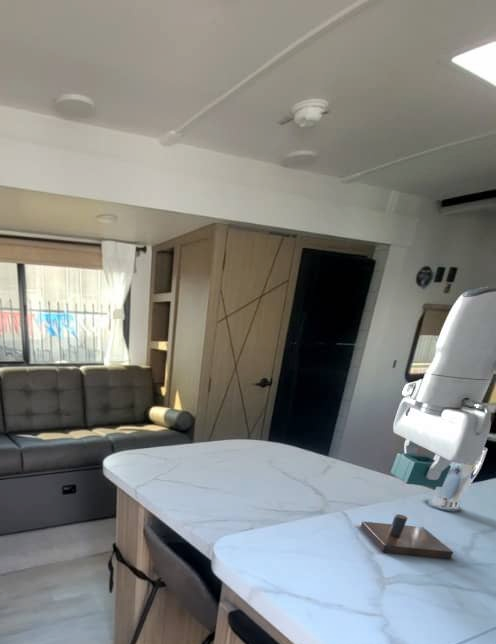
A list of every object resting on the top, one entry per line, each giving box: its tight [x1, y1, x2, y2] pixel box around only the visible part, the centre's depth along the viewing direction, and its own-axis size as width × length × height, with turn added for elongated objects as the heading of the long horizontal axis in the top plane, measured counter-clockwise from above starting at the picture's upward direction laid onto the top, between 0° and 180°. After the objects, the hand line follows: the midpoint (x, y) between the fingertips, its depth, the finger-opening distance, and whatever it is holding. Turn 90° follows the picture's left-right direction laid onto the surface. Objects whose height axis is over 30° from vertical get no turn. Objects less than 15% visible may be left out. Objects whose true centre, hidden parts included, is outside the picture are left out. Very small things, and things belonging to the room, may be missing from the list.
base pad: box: [359, 513, 454, 560], centre depth 79 cm, size 12×10×6 cm
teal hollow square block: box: [389, 452, 451, 488], centre depth 74 cm, size 6×6×4 cm
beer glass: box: [427, 446, 488, 512], centre depth 95 cm, size 7×7×15 cm
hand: (418, 471), depth 74 cm, fingers closed on teal hollow square block, 6 cm apart
